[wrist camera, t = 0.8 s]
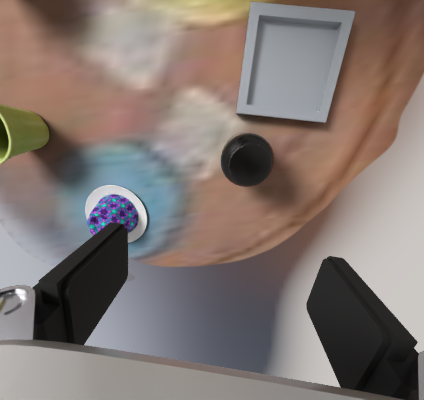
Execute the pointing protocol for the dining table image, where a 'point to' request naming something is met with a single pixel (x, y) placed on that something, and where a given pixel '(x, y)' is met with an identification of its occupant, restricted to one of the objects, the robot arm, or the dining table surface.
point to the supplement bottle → (247, 159)
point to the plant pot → (20, 132)
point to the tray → (292, 60)
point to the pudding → (115, 210)
